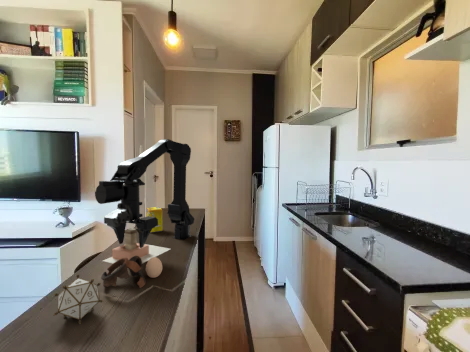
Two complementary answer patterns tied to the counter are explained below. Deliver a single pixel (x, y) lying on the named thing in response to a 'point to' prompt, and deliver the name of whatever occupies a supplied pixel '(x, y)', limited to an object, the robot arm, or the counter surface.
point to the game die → (78, 298)
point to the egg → (154, 267)
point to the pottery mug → (124, 271)
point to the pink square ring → (130, 252)
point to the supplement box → (158, 214)
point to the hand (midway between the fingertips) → (131, 245)
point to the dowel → (130, 239)
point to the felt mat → (153, 252)
